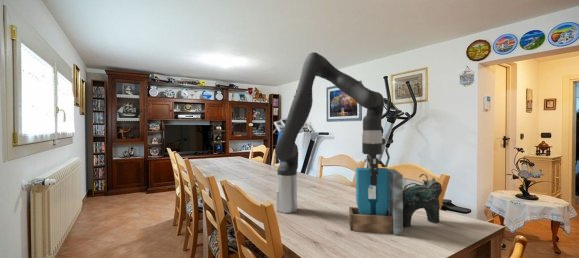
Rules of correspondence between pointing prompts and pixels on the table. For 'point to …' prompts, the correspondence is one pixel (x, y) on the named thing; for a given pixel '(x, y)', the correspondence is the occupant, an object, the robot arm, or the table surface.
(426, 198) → the dark green elephant figurine
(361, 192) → the block
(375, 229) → the wooden stand
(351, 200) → the table surface
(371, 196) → the light bulb box
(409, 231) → the table surface
